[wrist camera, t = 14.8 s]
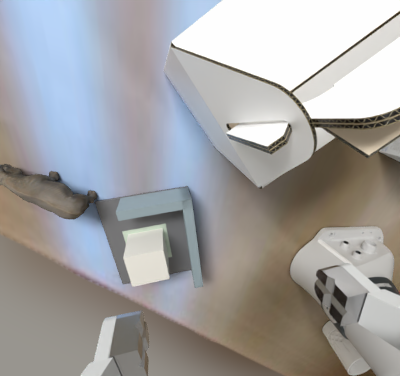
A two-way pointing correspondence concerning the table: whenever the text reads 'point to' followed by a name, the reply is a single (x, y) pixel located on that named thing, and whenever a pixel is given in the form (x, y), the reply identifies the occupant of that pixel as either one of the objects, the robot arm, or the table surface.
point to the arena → (154, 227)
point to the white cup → (345, 350)
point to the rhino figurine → (46, 192)
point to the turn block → (146, 257)
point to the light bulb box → (392, 150)
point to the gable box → (291, 79)
